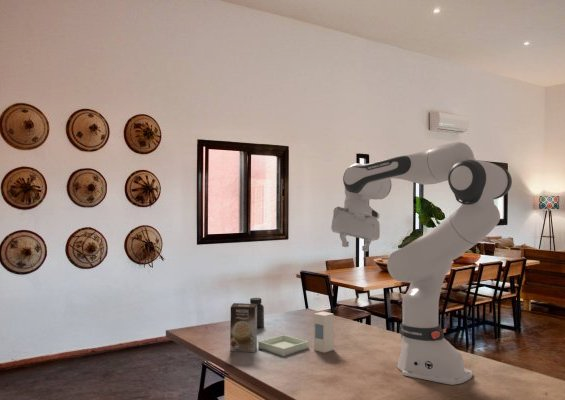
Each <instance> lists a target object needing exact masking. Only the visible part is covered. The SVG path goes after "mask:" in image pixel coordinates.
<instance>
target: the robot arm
mask: <svg viewBox="0 0 565 400" xmlns="http://www.w3.org/2000/svg"><path fill="white" fill-rule="evenodd" d="M392 179H396V180H398V179H399V180H403V181H408V182H411V183H414V184H415V183H416V184H419V185H422V186H423V185H425V186H426V185H435V184H441V183H443V182H446V181H448V185H449V189H450V190H451V191H452V193H453V194H454V197H455V200H456V201H457V202H458V203H460V204H461V205H460V207H459V208H457V209H456V210H455V211H454V212H453V213H451V214H450V215H449V216H448V217H446V218H445V219H444V220H442V221H441V222H440V223H439V224H437V225H436V227H434V228H433V229H431V230H430V231H428V232H426V233H424V234H423V235H421V236H419V237H417V238H416V239H414V240H413V241H411V242H410V243H408V244H406V245H405V246H403V247H401V248H398V249H397V250H395V251H393V252H391V253H390V255H389V256H388V258H387V262H386V263H387V265H386V268H387V271H388V273H389V275H390V277H392V279H394V280H395V281H396V282H402V283H409V287H408V290H407V291H406V293H405V294H404V296H403V297H402V302H401V303H402V304H401V305H402V306H401V307H402V311H401V312H402V322H401V323H400V324H401V325H400V337H401V348H400V354H399V358H398V363H397V369H399V370H400V371H401V373H402V375H403V376H406V377H409V378H414V379H420V380H426V381H430V382H435V383H440V384H445V385H451V386H452V385H453V386H454V385H460V384H462V383H465V382H467V381H469V380H471V378H472V377H473V371H472V370H471V369H468V368H465V362H464V357H463V355H462V353H461V352H460V351H459V350H458V349H456V347H454V346H453V345H452V344H451V343H450V342H449V341H448V340H447V339H446V338H445V335H444V333H447V331H446V330H447V328H443V329H442V327H441V326H440V324H439V304H440V302H439V301H440V296H441V291H442V287H443V284H444V281H445V278H446V276H447V275H448V273H449V271H450V269H451V267H452V265H453V264H452V262H453V261H454V260H457V259H458V258H460V257H461V256H462V255H463V254H465V253H466V252H467V251H469V250H470V249H471V248H473V247H474V246H476V245H477V244H478V243H480V242H481V241H482V240H483V239H485V237H487V236H488V235H489V234H490V233H491V232H492V231H493V230H494V229H495V227H497V225H498V224H499V223H500V220H501V213H500V210H499V208H498V207H497V205H496V204H495V201H494V200H497V199H500V198H502V197H504V196H505V195H507V194H508V192H509V191H510V189H511V187H512V182H513V179H512V176H511V174H510V172H509V171H508V169H506V168H505V167H504V166H502V165H501V164H498V163H494V162H489V161H486V160H477V159H476V158H475V155H474V153H473V150H472V149H471V147H470V146H469V145H468V144H466V143H464V142H462V141H461V142H457V141H456V142H451V143H446V144H440V145H437V146H434V147H431V148H429V149H426V150H422V151H418V152H415V153H410V154H405V155H400V156H394V157H390V158H386V159H383V160H377V161H374V162H370V163H353V164H351V165H350V166H348V168H347V169H345V171H344V173H343V177H342V181H343V185H344V195H345V198H344V205H343V207H341V206H336V207H334V209H333V214H332V215H333V216H332V220H331V228H330V229H331V231H332V233H335V234H339V239H340V240H341V242H342V243H341V247H343V248H348V247H350V246H349V244H350V243H349V241H348V240H347V237H354V238H358V239H362V240H364V245H362V248H361V249H362V251H363V252H369V249H370V248H369V246H370V245H371V243H372V241H373V242H374V241H377V240H379V238H380V235H381V234H380V233H381V227H380V226H381V225H380V221H379V219H380V213H379V212H377V210H375V209H373V208H372V207H371V205H370V200H383V199H385V198H387V197H388V196H389V194H390V192H391V189H392Z"/></svg>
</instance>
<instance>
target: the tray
mask: <svg viewBox="0 0 565 400" xmlns="http://www.w3.org/2000/svg"><path fill="white" fill-rule="evenodd" d="M257 341H258V340H257ZM257 344H258V345H257V346H258V349H259V350H262V351H266V352H269V353H272V354H276V355H279V356H282V357H285V356H286V357H287V356H288V355H291V354H295V353H298V352H301V351H305V350H308V349H310V341H309V340H305V339H301V338H297V337H293V336H291V335H287V334H282V335H276V336H273V337H270V338H266V339H263V340H259V341H258V342H257Z"/></svg>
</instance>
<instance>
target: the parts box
mask: <svg viewBox="0 0 565 400" xmlns="http://www.w3.org/2000/svg"><path fill="white" fill-rule="evenodd" d="M334 320H335V319H334V313H331V312H327V311H320V312H316V313H313V350H314V351H317V352H321V353H323V354H325V353H328V352H331V351H334V350H335V349H334V348H335V346H334V342H335V341H334V340H335V337H334V336H335V334H334V333H335V331H334V328H335V327H334V326H335V325H334V324H335V323H334V322H335V321H334Z"/></svg>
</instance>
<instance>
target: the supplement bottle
mask: <svg viewBox="0 0 565 400" xmlns="http://www.w3.org/2000/svg"><path fill="white" fill-rule="evenodd" d="M249 301H250V303H249V304H257V329H262V328H264V326H265V306H264V305H263V304H262V298H261V297H251V298H250V300H249ZM261 327H262V328H261Z"/></svg>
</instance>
